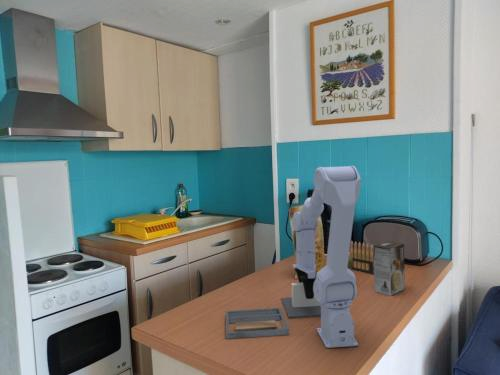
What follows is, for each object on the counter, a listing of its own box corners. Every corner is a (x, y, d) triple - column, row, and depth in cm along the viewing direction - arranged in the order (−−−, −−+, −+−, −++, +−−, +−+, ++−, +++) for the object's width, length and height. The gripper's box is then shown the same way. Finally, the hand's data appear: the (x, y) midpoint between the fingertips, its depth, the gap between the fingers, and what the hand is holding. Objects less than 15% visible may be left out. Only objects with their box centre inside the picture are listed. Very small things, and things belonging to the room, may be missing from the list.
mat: (335, 315, 104) (335, 313, 104) (288, 318, 103) (288, 316, 103) (322, 297, 118) (322, 295, 118) (281, 299, 117) (281, 298, 117)
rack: (288, 334, 93) (288, 329, 93) (226, 339, 92) (225, 333, 92) (280, 312, 107) (280, 307, 107) (225, 315, 106) (225, 311, 106)
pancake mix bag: (284, 277, 139) (282, 206, 137) (319, 267, 150) (318, 202, 148) (296, 281, 133) (294, 208, 131) (331, 271, 144) (330, 203, 142)
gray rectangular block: (321, 305, 109) (321, 283, 109) (293, 307, 109) (292, 285, 108) (320, 303, 111) (319, 281, 111) (292, 304, 111) (291, 283, 110)
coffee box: (387, 284, 127) (387, 240, 126) (405, 289, 122) (405, 243, 121) (373, 291, 121) (373, 245, 120) (391, 296, 116) (391, 248, 115)
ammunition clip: (348, 269, 146) (348, 240, 145) (351, 268, 148) (351, 239, 147) (373, 274, 139) (373, 244, 138) (375, 273, 140) (375, 243, 139)
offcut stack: (279, 335, 94) (279, 326, 94) (234, 338, 93) (234, 329, 93) (277, 328, 98) (277, 319, 98) (234, 331, 97) (234, 322, 97)
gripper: (288, 245, 116) (289, 286, 117) (297, 257, 101) (298, 303, 102) (309, 244, 116) (310, 284, 117) (321, 256, 102) (322, 302, 103)
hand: (306, 293), depth 110 cm, fingers open, 7 cm apart
